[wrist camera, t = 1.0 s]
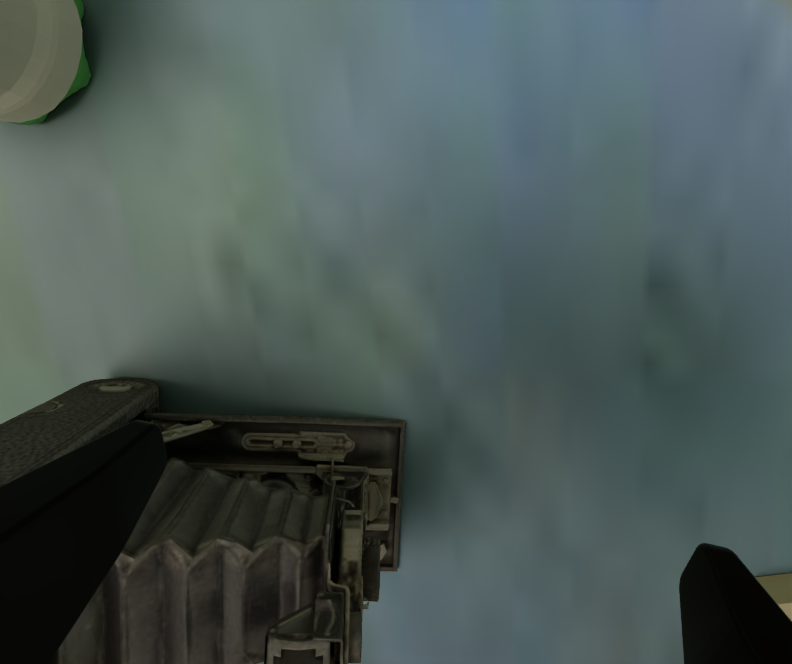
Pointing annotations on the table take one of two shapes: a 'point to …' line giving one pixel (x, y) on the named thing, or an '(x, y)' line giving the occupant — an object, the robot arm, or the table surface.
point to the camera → (231, 531)
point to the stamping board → (779, 590)
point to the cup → (39, 57)
